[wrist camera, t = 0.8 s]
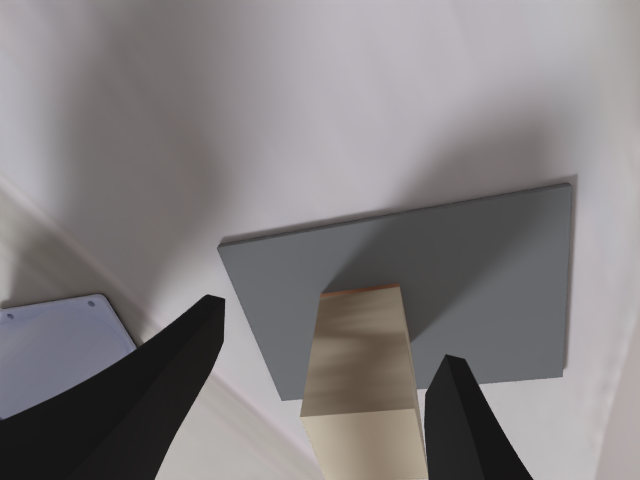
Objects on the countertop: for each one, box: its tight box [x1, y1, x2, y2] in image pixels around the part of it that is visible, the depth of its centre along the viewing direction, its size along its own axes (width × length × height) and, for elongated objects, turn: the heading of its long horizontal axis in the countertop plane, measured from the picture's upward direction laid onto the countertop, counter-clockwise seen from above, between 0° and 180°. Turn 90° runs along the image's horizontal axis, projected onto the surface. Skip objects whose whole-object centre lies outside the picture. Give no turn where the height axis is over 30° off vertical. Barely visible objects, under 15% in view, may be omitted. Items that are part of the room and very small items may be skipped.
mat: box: [217, 183, 572, 401], centre depth 26 cm, size 20×14×1 cm
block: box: [300, 283, 428, 480], centre depth 22 cm, size 5×5×9 cm
